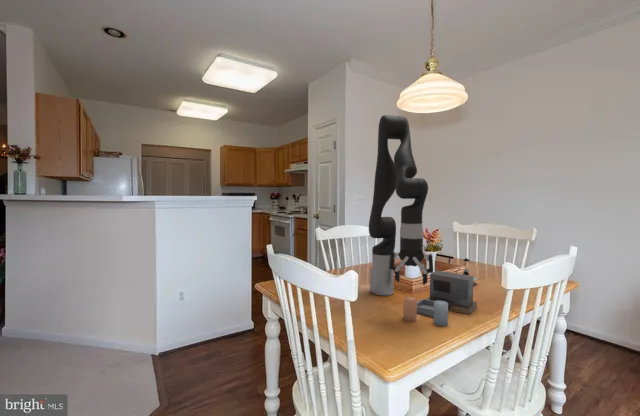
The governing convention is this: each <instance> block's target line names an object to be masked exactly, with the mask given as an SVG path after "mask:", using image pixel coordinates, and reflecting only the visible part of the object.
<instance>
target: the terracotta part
mask: <svg viewBox="0 0 640 416" xmlns="http://www.w3.org/2000/svg"><path fill="white" fill-rule="evenodd" d="M417 302H418V299H417V297H413V296H404V297H403V309H402V310H403V314H402V315H403V316H402V318H403V319H404V321H407V322H415V321H417V314H418V313H417Z"/></svg>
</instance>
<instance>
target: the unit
mask: <svg viewBox="0 0 640 416" xmlns="http://www.w3.org/2000/svg"><path fill="white" fill-rule="evenodd" d="M462 274H463V273H462ZM462 274H461V273H454V272H449V271H442V270H435V271H433V272H432V273H429V296H428V297H427V298H426V299H427V300H432V301H438V300H439V301H445V302H447V303H448V311H450V312H456V313H461V314H464V315H469V316H470V315H471V314H472V313H473V311H475V310H476V308H477V307H478V305H477V304H478V303H477V302H478V301H475V300H474V283H473V282H474V277H475V276H472V275H470V276H468V275H462Z"/></svg>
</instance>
